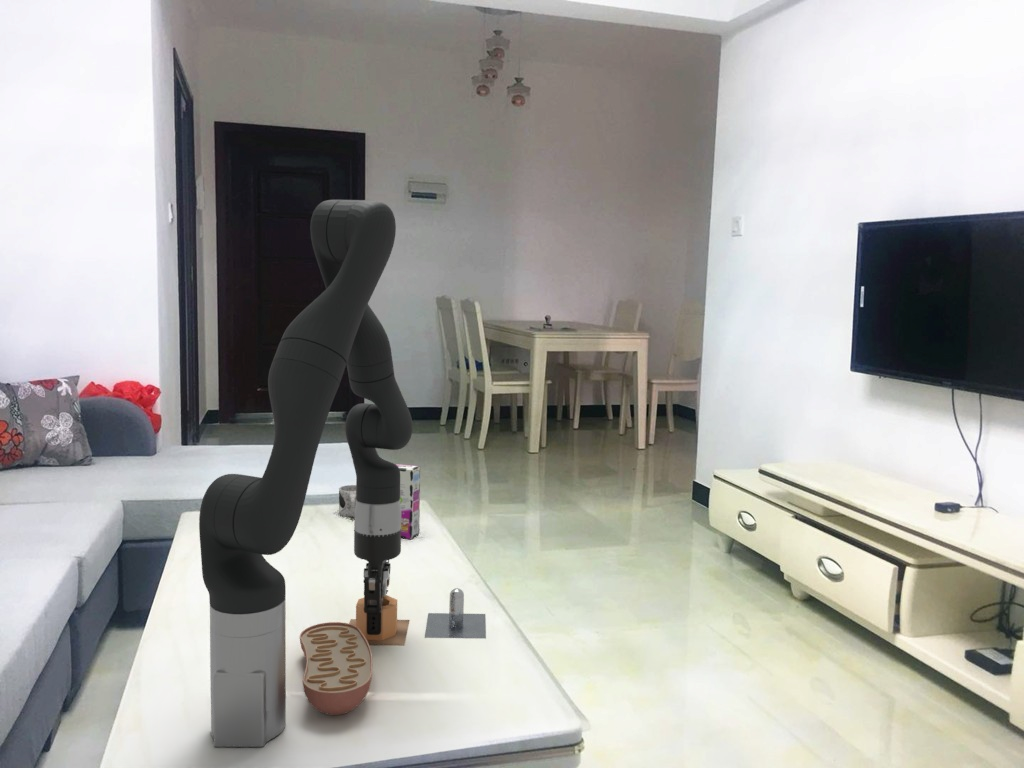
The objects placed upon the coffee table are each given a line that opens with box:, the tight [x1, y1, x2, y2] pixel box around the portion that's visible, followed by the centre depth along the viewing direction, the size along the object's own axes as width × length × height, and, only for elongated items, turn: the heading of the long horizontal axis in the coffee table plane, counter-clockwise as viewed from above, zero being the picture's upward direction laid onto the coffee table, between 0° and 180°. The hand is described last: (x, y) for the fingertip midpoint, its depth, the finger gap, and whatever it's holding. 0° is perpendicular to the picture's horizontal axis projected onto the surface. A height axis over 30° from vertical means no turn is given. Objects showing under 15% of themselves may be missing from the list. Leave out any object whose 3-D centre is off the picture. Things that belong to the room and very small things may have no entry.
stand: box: [348, 600, 411, 647], centre depth 133 cm, size 10×10×7 cm
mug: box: [338, 484, 356, 518], centre depth 204 cm, size 10×7×7 cm, turn 12°
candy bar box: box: [395, 463, 421, 540], centre depth 189 cm, size 11×5×16 cm, turn 73°
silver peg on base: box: [424, 587, 487, 639], centre depth 137 cm, size 10×10×7 cm
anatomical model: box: [299, 621, 374, 716], centre depth 117 cm, size 23×10×5 cm, turn 16°
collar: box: [355, 594, 398, 640], centre depth 133 cm, size 6×6×5 cm
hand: (376, 624), depth 133 cm, fingers closed on collar, 6 cm apart
